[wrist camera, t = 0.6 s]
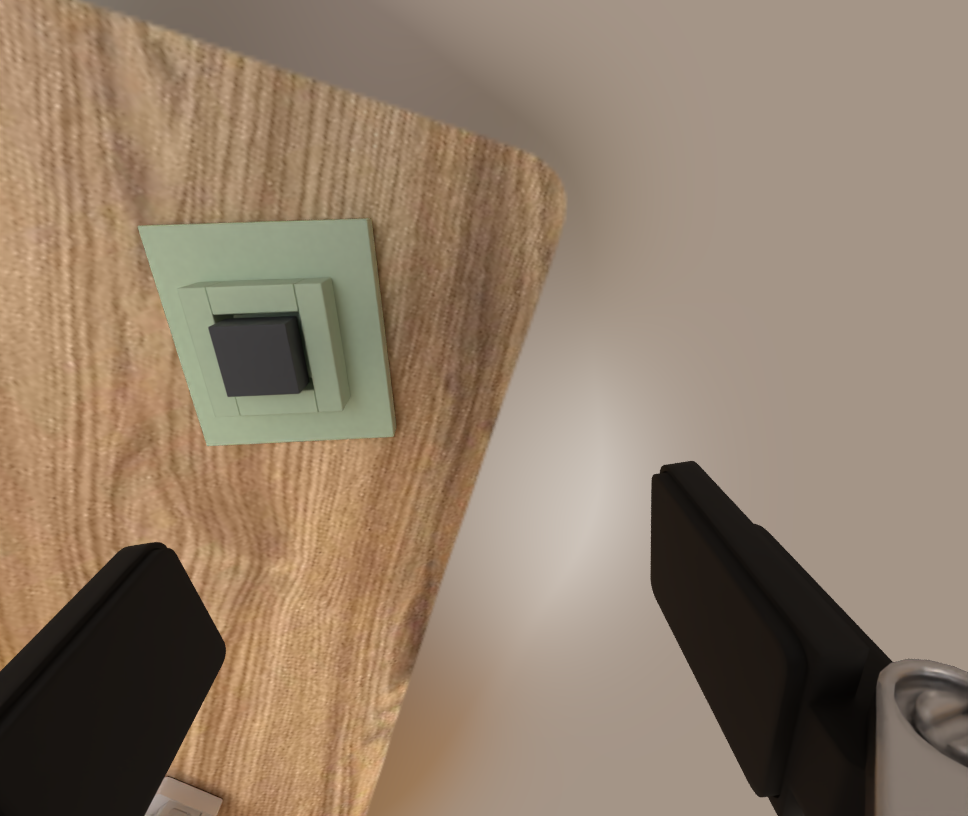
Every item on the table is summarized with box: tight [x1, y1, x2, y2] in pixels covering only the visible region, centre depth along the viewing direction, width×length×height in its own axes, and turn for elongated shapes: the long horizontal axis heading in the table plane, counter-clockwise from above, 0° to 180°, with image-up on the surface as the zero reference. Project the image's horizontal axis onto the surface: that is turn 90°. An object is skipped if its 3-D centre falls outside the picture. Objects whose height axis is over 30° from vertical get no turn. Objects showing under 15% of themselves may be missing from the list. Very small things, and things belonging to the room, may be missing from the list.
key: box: [208, 316, 309, 397], centre depth 20 cm, size 3×3×2 cm
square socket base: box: [138, 218, 396, 446], centre depth 22 cm, size 11×10×3 cm
